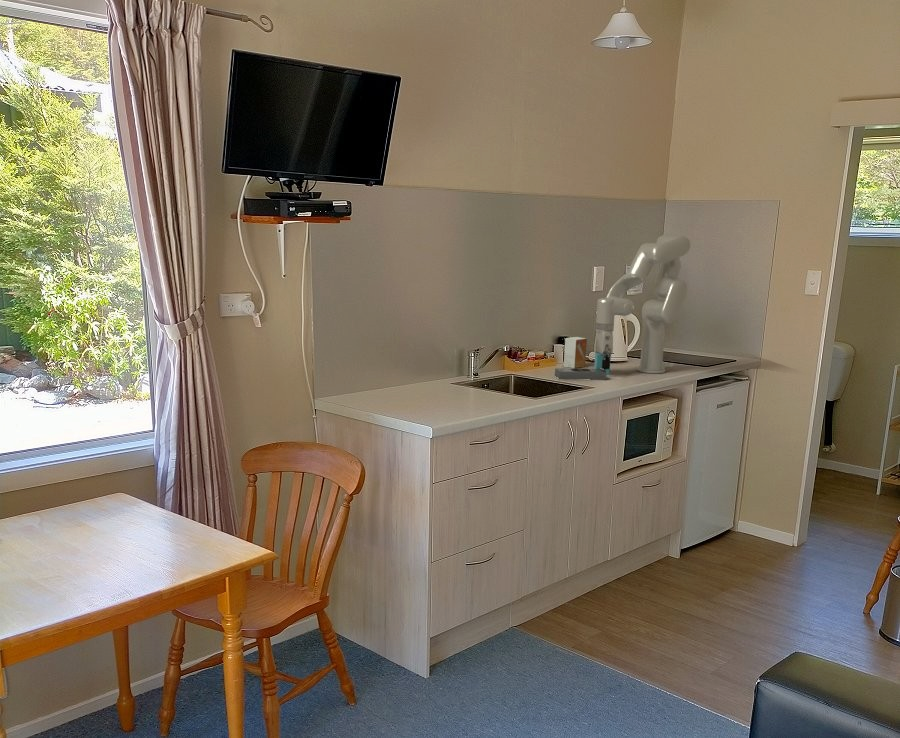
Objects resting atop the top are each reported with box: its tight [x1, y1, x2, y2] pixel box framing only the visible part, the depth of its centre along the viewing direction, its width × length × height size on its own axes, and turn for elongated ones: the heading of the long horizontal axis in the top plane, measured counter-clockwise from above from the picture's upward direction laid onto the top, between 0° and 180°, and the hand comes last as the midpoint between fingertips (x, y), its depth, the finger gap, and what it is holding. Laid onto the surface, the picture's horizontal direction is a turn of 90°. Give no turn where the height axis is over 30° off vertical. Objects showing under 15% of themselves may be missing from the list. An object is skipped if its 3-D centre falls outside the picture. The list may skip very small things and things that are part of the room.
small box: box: [563, 336, 588, 369], centre depth 362 cm, size 8×6×13 cm
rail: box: [554, 367, 607, 381], centre depth 336 cm, size 20×7×4 cm, turn 97°
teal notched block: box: [593, 352, 612, 376], centre depth 346 cm, size 6×3×9 cm, turn 97°
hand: (602, 366), depth 346 cm, fingers open, 9 cm apart
